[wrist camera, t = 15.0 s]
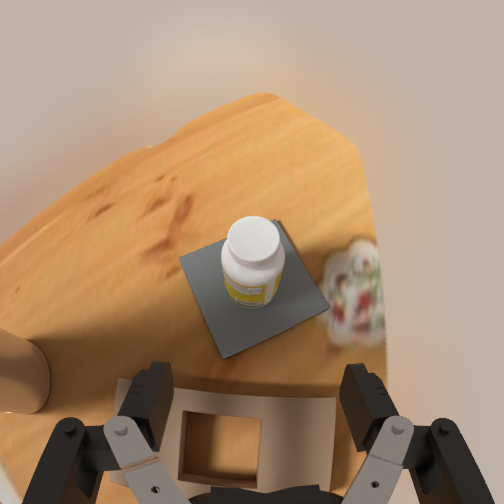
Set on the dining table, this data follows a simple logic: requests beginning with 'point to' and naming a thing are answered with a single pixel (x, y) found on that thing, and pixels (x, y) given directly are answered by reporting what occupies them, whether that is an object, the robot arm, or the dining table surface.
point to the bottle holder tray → (270, 439)
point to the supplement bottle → (252, 261)
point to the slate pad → (250, 319)
